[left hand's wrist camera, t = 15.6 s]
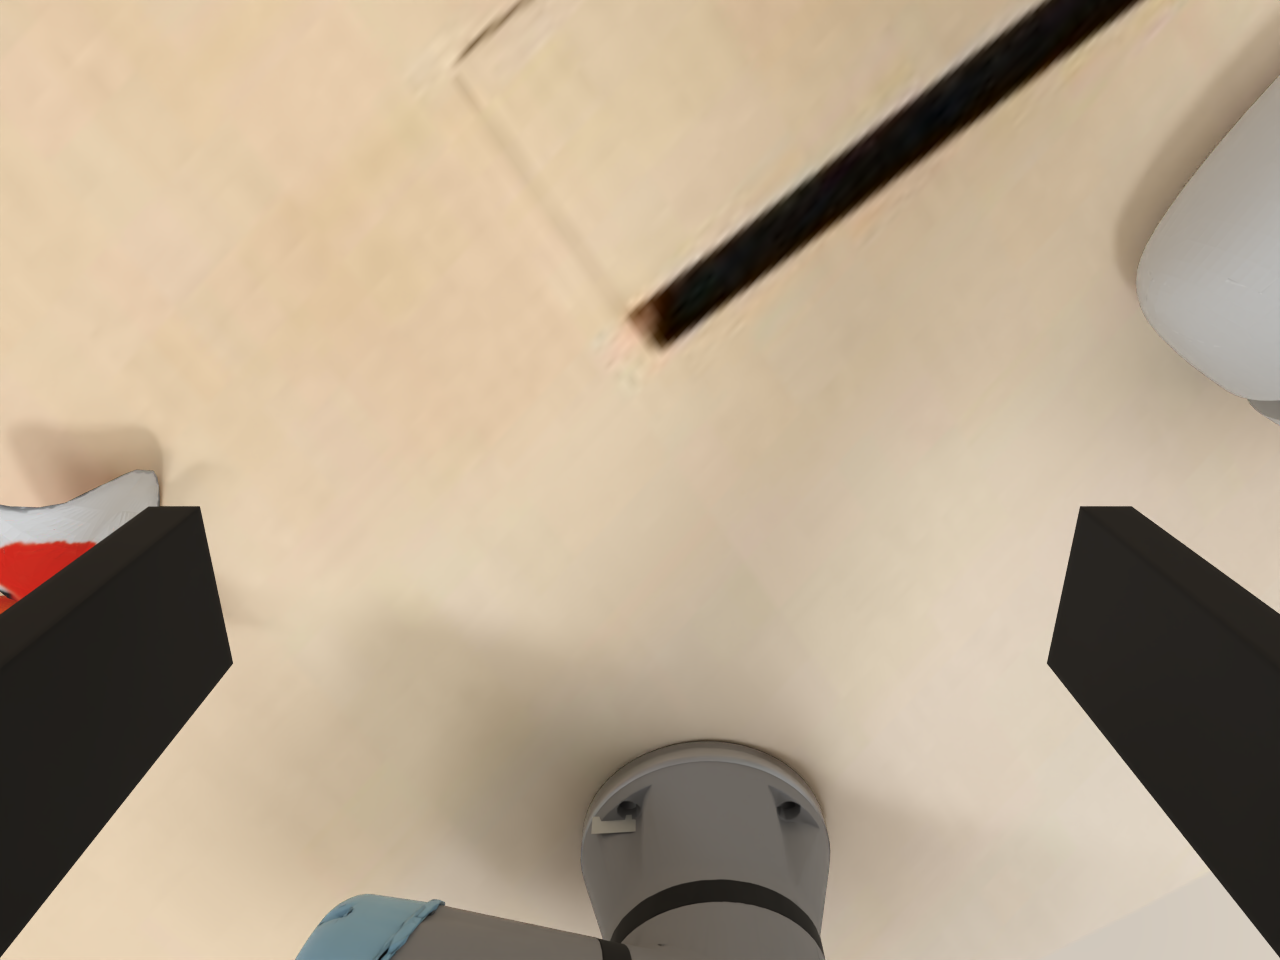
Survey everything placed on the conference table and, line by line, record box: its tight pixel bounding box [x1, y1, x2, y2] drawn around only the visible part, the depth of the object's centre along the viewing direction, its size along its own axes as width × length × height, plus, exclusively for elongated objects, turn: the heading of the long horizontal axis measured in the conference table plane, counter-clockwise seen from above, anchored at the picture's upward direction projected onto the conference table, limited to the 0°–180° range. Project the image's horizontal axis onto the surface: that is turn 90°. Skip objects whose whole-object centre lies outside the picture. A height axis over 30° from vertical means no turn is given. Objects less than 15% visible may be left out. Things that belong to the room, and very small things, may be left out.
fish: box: [0, 470, 160, 614], centre depth 42 cm, size 11×16×10 cm
